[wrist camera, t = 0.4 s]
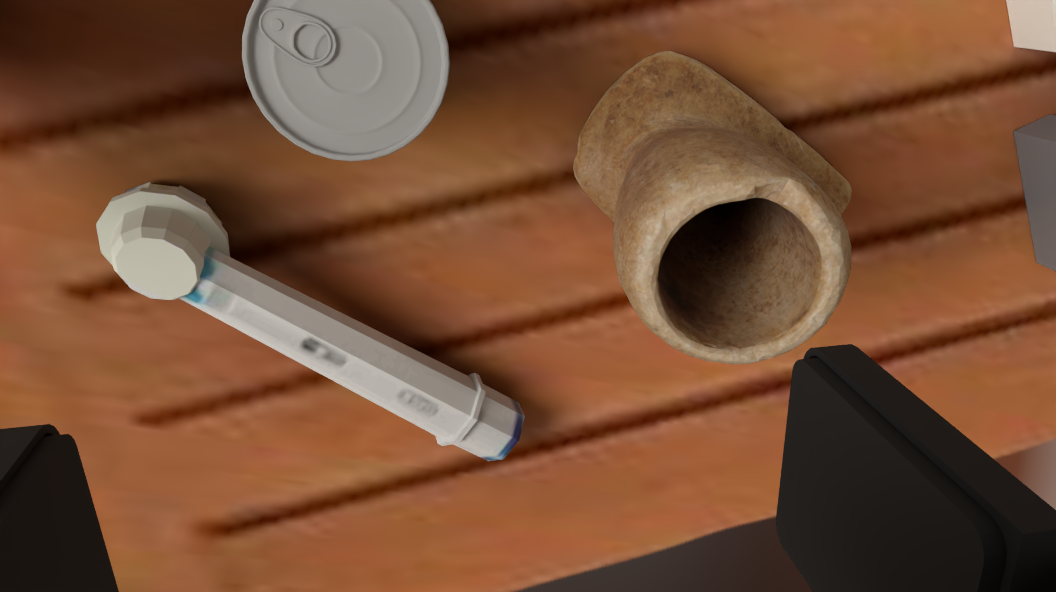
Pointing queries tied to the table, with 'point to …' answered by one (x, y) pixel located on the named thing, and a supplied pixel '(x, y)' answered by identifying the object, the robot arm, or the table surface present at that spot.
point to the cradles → (1033, 24)
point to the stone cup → (714, 212)
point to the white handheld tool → (296, 320)
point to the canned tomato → (346, 72)
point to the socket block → (1040, 184)
